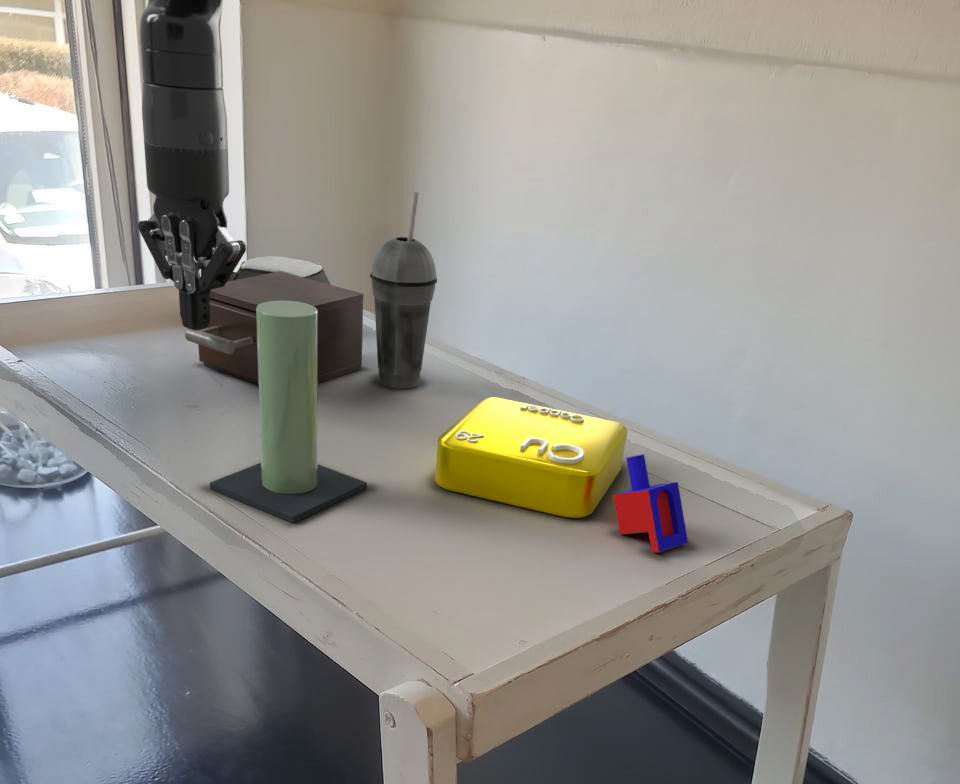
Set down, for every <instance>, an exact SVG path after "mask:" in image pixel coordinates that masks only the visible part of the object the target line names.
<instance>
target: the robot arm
mask: <svg viewBox="0 0 960 784" xmlns="http://www.w3.org/2000/svg"><path fill="white" fill-rule="evenodd" d="M223 4H224V0H148V1H147V5H146V7H145V9H144V10H143V12H142V13H141V16H140V22H139V47H140V48H139V49H140V61H141V62H140V63H141V75H142V76H141V77H142V96H141V97H142V98H141V117H142V133H143V147H144V160H145V162H144V163H145V174H146V176H145V177H146V187H147V189H148V191H149V192H150V193H151V194H153V195H155V200H154V201H153V210H152V211H153V214H152V215H151V216H150V217H149V218H148V219H146V220H140V221H138V223H137V228H138V229H137V230H138V231H139V233H140V236H141V237H142V239H143V241H144V243H145V245H146V247H147V249H148V250H149V253H150V255H151V257H152V258H153V261H154V263H155V265H156V266H157V268H158V271H159V272H160V274H161V276H162V277H163V279H164V280H171V281H172V282H173V285H174V286H175V289H177V290H178V301H179V315H180V319H181V324H182V326H183V327H184V328H187V329H188V328H189V329H192V330H195V331H196V330H201V329H205V328H207V327H208V325H209V322H210V298H209V294H210V291H211V290H212V289H215V288H220V287H224V286H225V284H226V282H227V281H228V279H229V277H230V276H231V274H232V273H233V272H235V269H236V268H237V266H238V265H239V263H240V262H241V260H242V258H243V256H244V255H245V253H246V251H247V245H246V243H245V241H243V240H242V239H239V240H235V239H234V237H233V236H232V235H231V233H230V232H229V230H228V219H227V216H226V212H225V210H224V202H225V200H226V198H227V197H228V195H229V193H230V174H229V145H228V144H229V142H228V140H229V139H228V119H227V118H228V116H227V109H226V107H227V106H226V103H225V102H226V101H225V95H224V89H223V88H224V73H223V71H224V70H223V67H224V66H223V47H222V38H221V37H222V36H221V21H222V13H223Z"/></svg>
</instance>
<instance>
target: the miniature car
mask: <svg viewBox="0 0 960 784" xmlns="http://www.w3.org/2000/svg"><path fill="white" fill-rule="evenodd" d="M278 271H282V272H285V273H289V274H293V275H296V276H300V277H304V278H307V279H311V280H315V281H318V282H322V283H326V284H329V285H332V284H331V282H330V280H329V278H328V276H327V273H326V272H325V270H324V266H322V265H320V264H316V263H314V262H310V261H308V260H303V259H298V258H293V257H292V258H291V257H285V256H277V255H267V256H258V257H251V258H249V259H246V260H243V261H242V262H241V264H240V266H239V268H238V270H237V271H233V273H232V274H231V276H230V277H229V279H228V281H227V282H229V281H234V280H238V279H243V278H248V277H253V276H258V275H263V274H268V273H273V272H278Z"/></svg>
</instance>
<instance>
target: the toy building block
mask: <svg viewBox="0 0 960 784" xmlns="http://www.w3.org/2000/svg"><path fill="white" fill-rule="evenodd" d="M626 464H627V465H626V466H627V470H628V477H629V481H630V487H631V489H628V490H623V491H620V492H617V493H613V494H612V496H613V497H612V498H613V503H614V508H615V513H616V520H617V525H618V529H619V535H631V534H641V533H643V534H644V533H648V538H649V543H650V549H651V553H652V554H653V553H661V552H664V551H668V550H670V549H674V548H677V547H680V546H682V545H686V544H689V539H688V533H687V528H686V521H685V517H684V510H683V504H682V498H681V493H680V487H679V481H673V482H666V483H659V484H658V483H657V484H652V485H650V480H649V474H648V469H647V468H648V467H647V462H646V457H645V454H644V453H643V454H637V455H633V456H628V457H626Z"/></svg>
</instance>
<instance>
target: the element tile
mask: <svg viewBox="0 0 960 784" xmlns="http://www.w3.org/2000/svg"><path fill="white" fill-rule="evenodd" d="M627 436H628V429H627V427H626V426H625V424H623V423H621V422H619V421H614V420H609V419H604V418H599V417H595V416H590V415H584V414H579V413H575V412H570V411H565V410H562V409H554V408H552V407H545V406H540V405H536V404H530V403H525V402H521V401H515V400H511V399H507V398H502V397H495V396H491V397H487V398H485V399H483V400H481V401H479V402H478V403H476V405H474V406H473V407H472V408H471V409H470V410H469V411H467V412H466V414H464V415H463V416H462V417H461V418H459V419H458V420H457V421H456V422H455V423H454V424H452V425H451V426H450V427H449V428H447V429H446V430H445V431H444V432H443V433H442V434H441V435H439V436H438V439H437V444H436V460H435V475H434V479H435V483H436V484H437V485H438V486H439V487H440V488H443V489H444V490H447V491H449V492H454V493H459V494H463V495H467V496H470V497H471V496H472V497H476V498H480V499H485V500H489V501H492V502H497V503H502V504H505V505H509V506H510V505H511V506H515V507H518V508H524V509H528V510H532V511H535V512H541V513H543V514H549V515H554V516H558V517H561V518H562V517H563V518H568V519H583V518H586V517H588V516H590V515H591V514H593V512H595V510H596V509H597V506H598V505H599V504H600V502H601V500H602V499H603V497H604V496H605V494H606V493H607V492H608V490H609V488H610V487H611V485H612V484H613V482H614V481H615V479H616V477H617V476H618V474H619V473H620V472H621V470H622V466H623V459H624V455H625V448H626V443H627Z"/></svg>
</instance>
